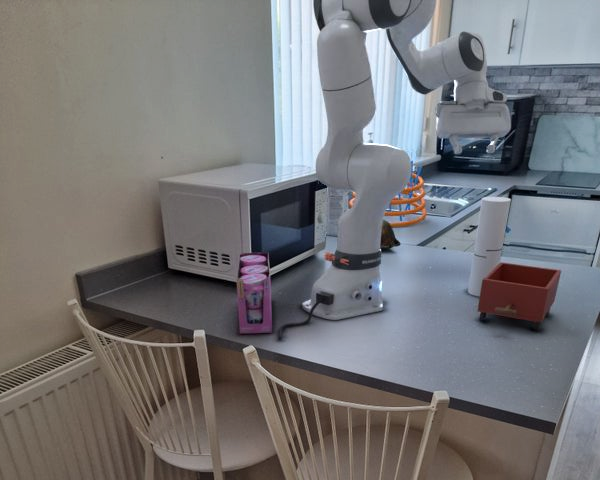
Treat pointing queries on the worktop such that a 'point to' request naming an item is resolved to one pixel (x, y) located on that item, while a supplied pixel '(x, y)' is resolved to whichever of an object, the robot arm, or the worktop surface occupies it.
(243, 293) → the gum box
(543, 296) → the toy cart
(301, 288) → the worktop surface
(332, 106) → the robot arm
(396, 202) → the orange spiral coil
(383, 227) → the bronze bell
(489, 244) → the cylindrical container
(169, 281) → the worktop surface
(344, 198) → the juice carton
